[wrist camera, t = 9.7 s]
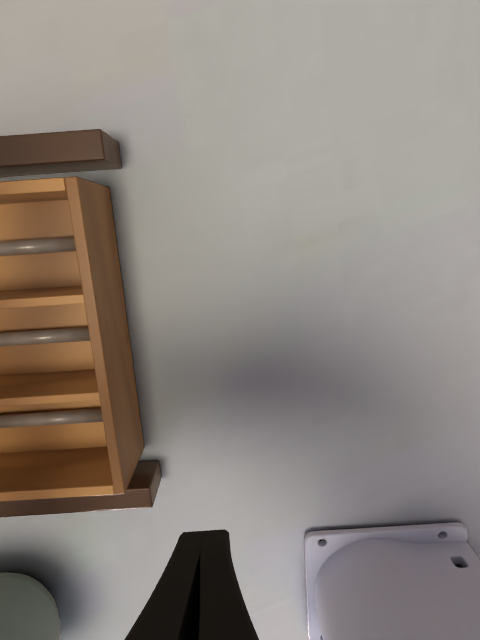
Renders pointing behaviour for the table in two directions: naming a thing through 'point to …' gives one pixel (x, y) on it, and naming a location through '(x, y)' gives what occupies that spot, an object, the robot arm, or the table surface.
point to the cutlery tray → (63, 345)
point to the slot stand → (58, 157)
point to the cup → (27, 609)
